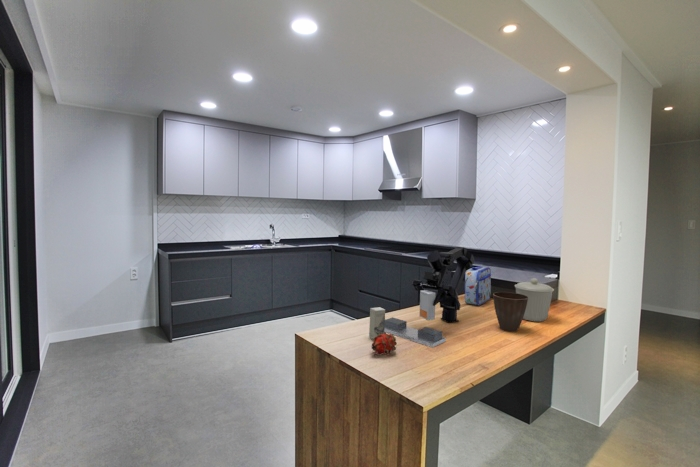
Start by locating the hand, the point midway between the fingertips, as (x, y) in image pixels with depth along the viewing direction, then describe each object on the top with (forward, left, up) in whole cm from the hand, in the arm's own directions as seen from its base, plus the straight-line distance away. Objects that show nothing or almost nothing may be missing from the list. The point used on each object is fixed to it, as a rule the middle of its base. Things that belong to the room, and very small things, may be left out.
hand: (426, 303), depth 157 cm
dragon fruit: (+28, +13, -14) cm, 34 cm away
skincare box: (-1, -1, -7) cm, 7 cm away
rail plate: (+7, 0, -13) cm, 15 cm away
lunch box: (-63, -35, -14) cm, 73 cm away
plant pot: (-41, +8, -14) cm, 44 cm away
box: (+23, -2, -14) cm, 27 cm away
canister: (-66, 0, -14) cm, 67 cm away
